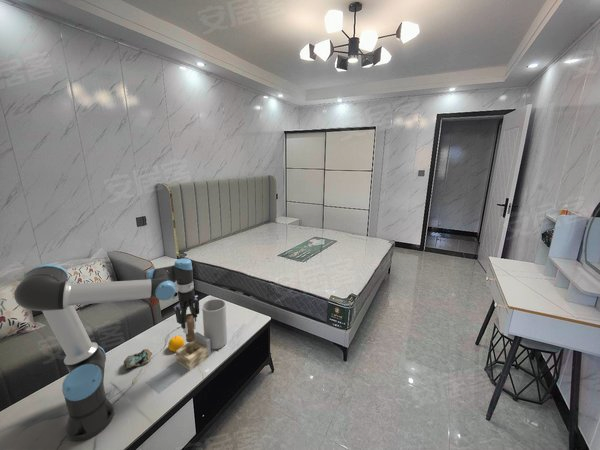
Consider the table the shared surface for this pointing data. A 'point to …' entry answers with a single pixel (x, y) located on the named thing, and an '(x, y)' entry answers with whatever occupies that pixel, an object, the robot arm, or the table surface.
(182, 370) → the grey corner bracket
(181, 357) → the block
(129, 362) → the mineral specimen
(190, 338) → the dowel
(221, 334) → the cylinder vase
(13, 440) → the table surface
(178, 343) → the orange
